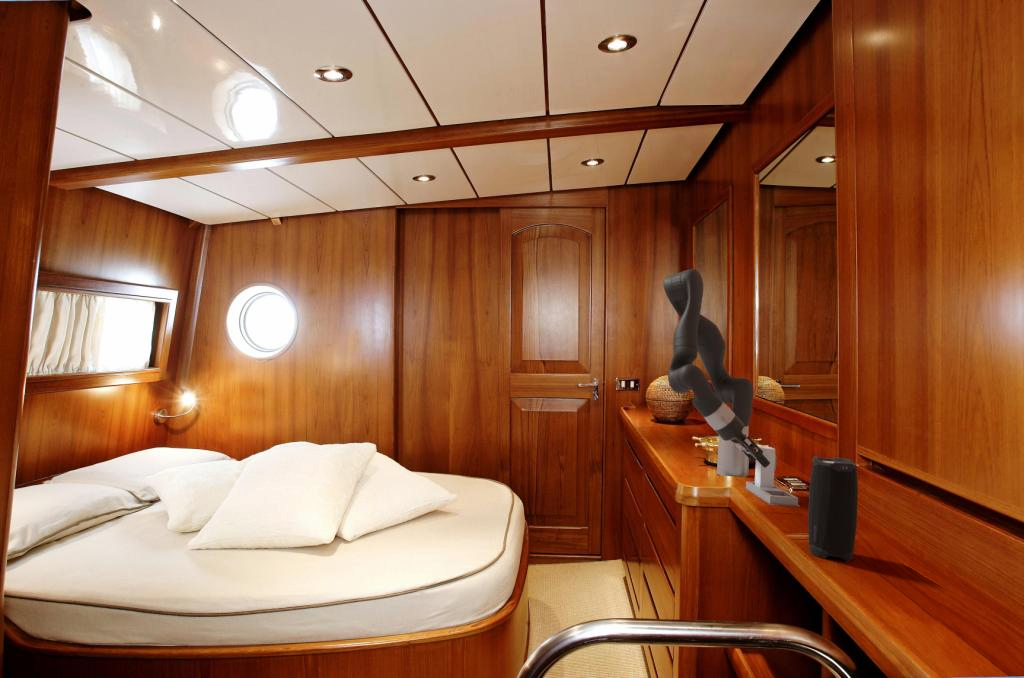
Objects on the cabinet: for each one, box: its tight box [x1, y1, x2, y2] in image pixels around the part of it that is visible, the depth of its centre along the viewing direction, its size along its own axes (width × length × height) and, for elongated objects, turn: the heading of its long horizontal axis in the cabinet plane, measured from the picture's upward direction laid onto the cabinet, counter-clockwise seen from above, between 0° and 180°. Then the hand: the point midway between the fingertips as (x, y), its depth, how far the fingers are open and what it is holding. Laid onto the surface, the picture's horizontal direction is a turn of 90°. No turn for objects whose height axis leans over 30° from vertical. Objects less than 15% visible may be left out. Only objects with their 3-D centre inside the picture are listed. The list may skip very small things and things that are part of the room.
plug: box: [754, 445, 777, 488], centre depth 160 cm, size 4×4×13 cm
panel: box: [744, 481, 800, 507], centre depth 155 cm, size 8×18×3 cm, turn 178°
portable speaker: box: [807, 455, 859, 562], centre depth 112 cm, size 9×9×20 cm
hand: (761, 462), depth 160 cm, fingers open, 8 cm apart
